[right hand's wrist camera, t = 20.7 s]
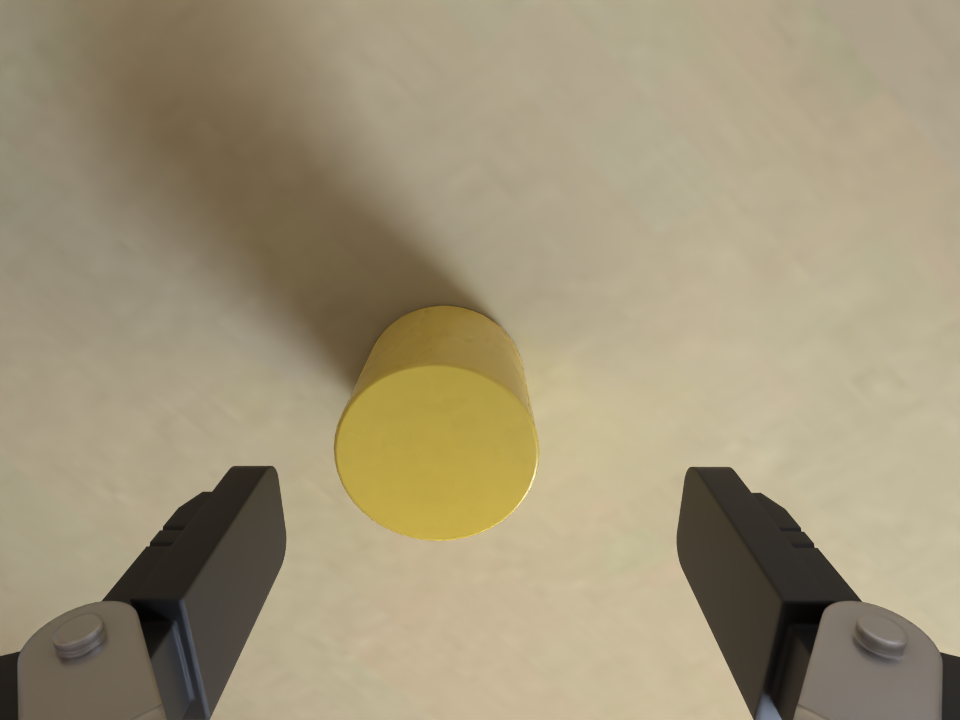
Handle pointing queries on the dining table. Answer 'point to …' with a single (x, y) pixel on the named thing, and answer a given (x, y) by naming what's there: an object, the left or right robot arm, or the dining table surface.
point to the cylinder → (439, 427)
